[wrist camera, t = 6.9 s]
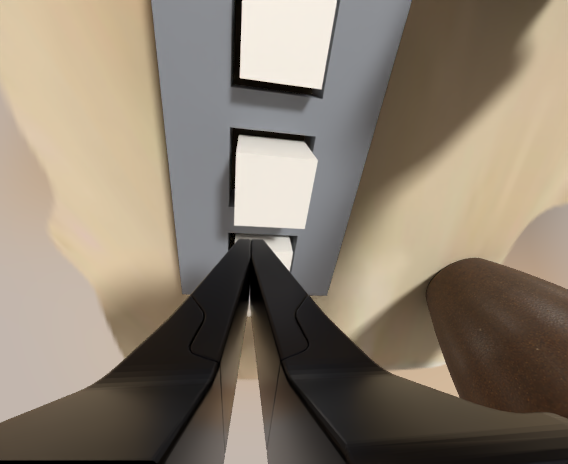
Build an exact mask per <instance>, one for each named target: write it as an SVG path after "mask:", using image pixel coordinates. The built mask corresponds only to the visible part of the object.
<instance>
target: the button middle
mask: <svg viewBox="0 0 568 464" xmlns="http://www.w3.org/2000/svg"><path fill="white" fill-rule="evenodd" d="M317 163H318V160H317V158H316V157H315V156H314V154H313V153H312V151H311V150H310V149H309V147H308V146H307V145H306V143H305V142H304V141H297V140H288V139H278V138H269V137H259V136H250V135H240V134H239V138H238V144H237V150H236V175H235V209H234V226H254V227H274V228H294V229H305V225H306V220H307V215H308V209H309V204H310V199H311V194H312V189H313V183H314V178H315V173H316V168H317Z"/></svg>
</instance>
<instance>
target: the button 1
mask: <svg viewBox="0 0 568 464" xmlns="http://www.w3.org/2000/svg"><path fill="white" fill-rule="evenodd" d="M238 239H250V240H252V239H263V240H264V241H265V242H266V243H267V245H268V246H269V247H270V248H271V249H272V251H273V252H274V253H275V254H276V256H277V257H278V258H279V259H280V260H281V262H282V263H283V264H284V265H285V267H286V268H287V269H288V270H289V272H290V266H291V261H292V255H293V251H292V246H291V242H290V238H289V235H268V234H246V233H236V235H235V243H236V242H237V240H238Z"/></svg>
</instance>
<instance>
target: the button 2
mask: <svg viewBox="0 0 568 464" xmlns="http://www.w3.org/2000/svg"><path fill="white" fill-rule="evenodd" d="M336 4H337V0H242V22H241V53H240V78H243V79H250V80H257V81H264V82H271V83H279V84H286V85H293V86H300V87H307V88H314V89H322V84H323V78H324V72H325V66H326V61H327V55H328V49H329V44H330V38H331V32H332V26H333V21H334V15H335V9H336Z"/></svg>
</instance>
